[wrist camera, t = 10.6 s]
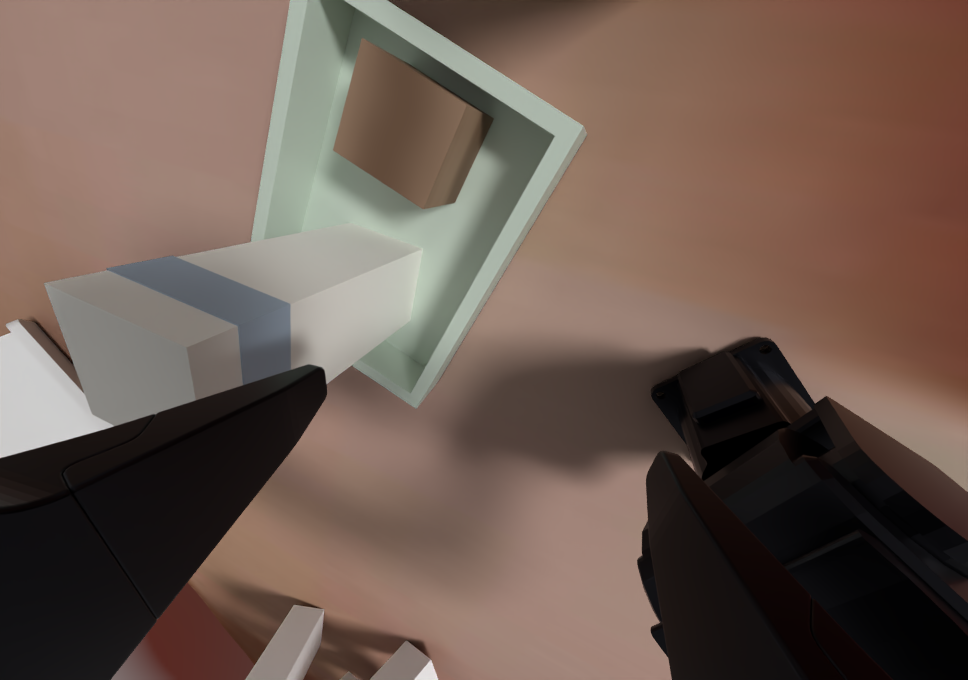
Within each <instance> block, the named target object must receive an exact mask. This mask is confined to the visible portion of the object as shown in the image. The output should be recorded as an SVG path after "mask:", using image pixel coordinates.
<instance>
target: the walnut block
mask: <svg viewBox="0 0 968 680" xmlns="http://www.w3.org/2000/svg"><path fill="white" fill-rule="evenodd" d="M493 120H494V118H492V117H491V116H489V115H488V114H486V113H485V112H483V111H482V110H480V109H478V108H477V107H475V106H474V105H472V104H471V103H469V102H468V101H466V100H464V99H463V98H461V97H460V96H458V95H457V94H455V93H454V92H452V91H450V90H449V89H447V88H446V87H444V86H443V85H441V84H440V83H438V82H437V81H435V80H433V79H432V78H430V77H429V76H427V75H426V74H424V73H423V72H421V71H419V70H418V69H416V68H415V67H413V66H412V65H410V64H408V63H407V62H405V61H403V60H401V59H399V58H398V57H396V56H394V55H392V54H390V53H389V52H387V51H385V50H383V49H382V48H380V47H378V46H376V45H374V44H373V43H371V42H369V41H367V40H365V39H364V38H362V39H361V43H360V47H359V51H358V55H357V59H356V63H355V66H354V70H353V74H352V78H351V82H350V86H349V90H348V94H347V97H346V101H345V105H344V109H343V113H342V117H341V121H340V125H339V128H338V132H337V136H336V140H335V144H334V148H333V151H335V152H336V153H338V154H339V155H341V156H342V157H344V158H345V159H347V160H348V161H350V162H351V163H353V164H354V165H356V166H358V167H359V168H361V169H362V170H364V171H365V172H367V173H368V174H370V175H371V176H373V177H374V178H376V179H377V180H379V181H380V182H382V183H383V184H385V185H387V186H388V187H390V188H391V189H393V190H394V191H396V192H397V193H399V194H400V195H402V196H403V197H405V198H406V199H408V200H409V201H411V202H412V203H414V204H416V205H417V206H419V207H420V208H422V209H428V208H433V207H438V206H442V205H447V204H452V203H455V202H456V199H457V197H458V195H459V193H460V191H461V189H462V187H463V184H464V182H465V180H466V178H467V176H468V174H469V171H470V169H471V167H472V165H473V163H474V161H475V159H476V156H477V154H478V152H479V150H480V148H481V146H482V144H483V141H484V139H485V137H486V135H487V133H488V131H489V128H490V126H491V124H492V122H493Z"/></svg>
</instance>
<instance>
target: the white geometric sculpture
mask: <svg viewBox="0 0 968 680" xmlns="http://www.w3.org/2000/svg"><path fill="white" fill-rule="evenodd" d="M323 617H324V609H319V608H312V607H305V606H299V605H294V606H293V607H292V609H291V610H290V612H289V613H288V615H287V616H286V618H285V619H284V621H283V622H282V624H281V626H280V627H279V629H278V630H277V632H276V633H275V635H274V636H273V638H272V639H271V641H270V642H269V644H268V646H267V647H266V649H265V650H264V652H263V653H262V655H261V656H260V658H259V659H258V661H257V663H256V664H255V666H254V667H253V669H252V670H251V672H250V673H249V675H248V676H247V678H246V679H245V680H303V679H304V677H305V675H306V673H307V671H308V669H309V667H310V665H311V663H312V661H313V659H314V657H315V655H316V653H317V651H318V649H319V647H320V645H321V638H322V628H323ZM340 680H359V679H358V678H356V677H355V676H354V675H353V674H352V673H350V672H349V671H348V672H347V673H346V674H345V675H344V676H343V677H342V678H341V679H340ZM370 680H438V678H437V675H436V672H435V670H434V667H433V664H432V661H431V659H429V658H428V657H427V656H426V655H424V654H423V653H422V652H421V651H419V650H418V649H417V648H416V647H414V646H413V645H412V644H411V643H409V642H408V641H407V640H406V641H405V642H404V643H403V644H402V645H401V646H400V648H399V649H398V650H397V651H396V652H395V653H394V654H393V655H392V656H391V657H390V658H389V659H388V660H387V662H386V663H385V664H384V665H383V666H382V667H381V668H380V669H379V670H378V671H377V672H376V673H375V674H374V675H373V677H372V678H371V679H370Z"/></svg>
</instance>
